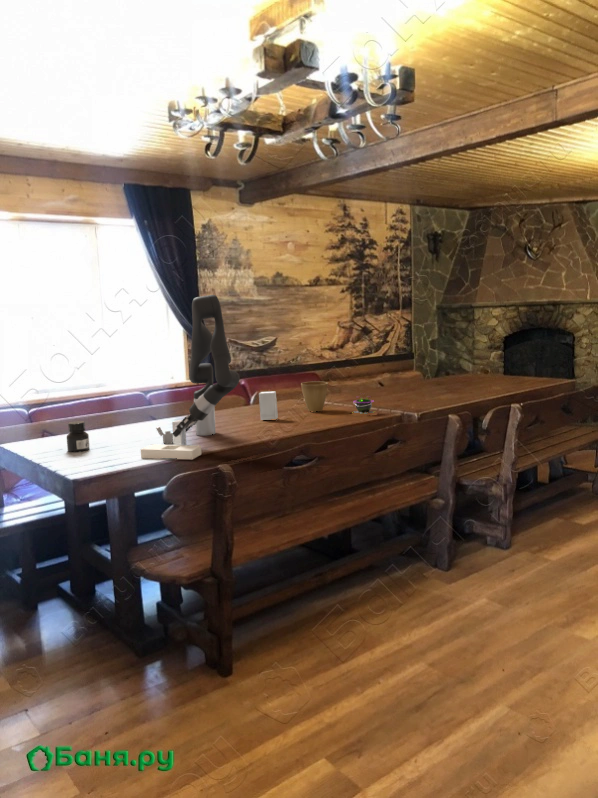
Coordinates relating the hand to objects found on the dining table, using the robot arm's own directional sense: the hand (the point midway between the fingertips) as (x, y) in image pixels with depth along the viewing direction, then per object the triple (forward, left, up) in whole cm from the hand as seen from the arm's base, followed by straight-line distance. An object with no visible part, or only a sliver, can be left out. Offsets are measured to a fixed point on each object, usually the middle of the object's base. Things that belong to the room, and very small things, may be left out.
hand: (178, 433), depth 264 cm
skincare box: (-71, +17, -7) cm, 73 cm away
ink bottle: (+7, -44, -7) cm, 45 cm away
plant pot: (-100, +35, -7) cm, 106 cm away
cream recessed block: (+12, +2, -7) cm, 14 cm away
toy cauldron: (-94, +64, -7) cm, 114 cm away
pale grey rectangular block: (0, 0, -7) cm, 7 cm away
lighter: (-10, -12, -7) cm, 17 cm away
